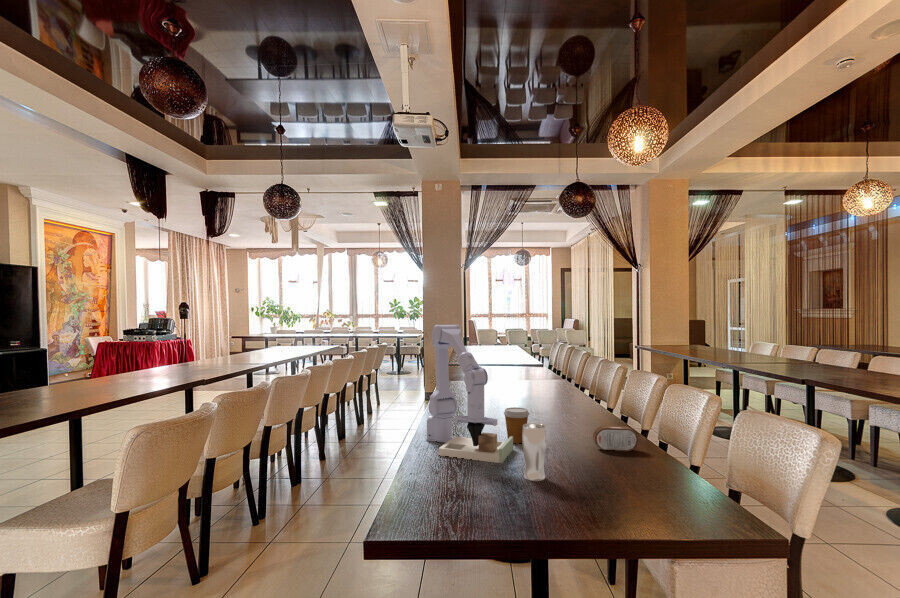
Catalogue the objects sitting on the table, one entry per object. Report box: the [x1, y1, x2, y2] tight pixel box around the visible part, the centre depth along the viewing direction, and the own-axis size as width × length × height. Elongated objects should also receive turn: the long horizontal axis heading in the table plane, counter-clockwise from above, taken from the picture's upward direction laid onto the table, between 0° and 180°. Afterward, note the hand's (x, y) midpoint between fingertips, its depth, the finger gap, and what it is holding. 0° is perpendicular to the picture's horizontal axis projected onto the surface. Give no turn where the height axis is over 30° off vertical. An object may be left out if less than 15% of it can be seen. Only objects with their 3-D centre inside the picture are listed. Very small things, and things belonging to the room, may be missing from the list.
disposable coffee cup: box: [503, 407, 530, 445], centre depth 169 cm, size 10×10×12 cm
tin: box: [592, 425, 639, 452], centre depth 159 cm, size 15×3×8 cm, turn 84°
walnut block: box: [479, 431, 498, 453], centre depth 150 cm, size 5×5×5 cm
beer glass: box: [521, 422, 547, 482], centre depth 132 cm, size 7×7×15 cm
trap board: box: [438, 436, 514, 464], centre depth 156 cm, size 22×16×4 cm
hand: (476, 445), depth 152 cm, fingers closed
